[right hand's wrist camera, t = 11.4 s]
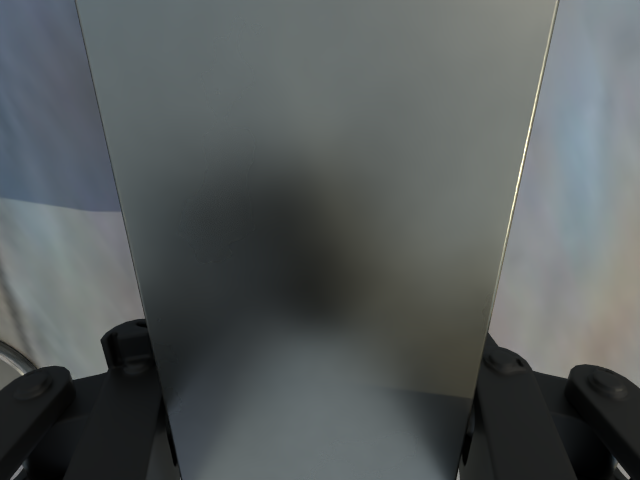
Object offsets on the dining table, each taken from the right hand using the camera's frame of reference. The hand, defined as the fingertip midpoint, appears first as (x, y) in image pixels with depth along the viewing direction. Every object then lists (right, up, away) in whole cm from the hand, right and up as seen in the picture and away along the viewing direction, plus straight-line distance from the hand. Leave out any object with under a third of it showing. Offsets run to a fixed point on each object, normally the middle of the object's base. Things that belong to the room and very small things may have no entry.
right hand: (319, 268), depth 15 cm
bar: (0, +13, -4) cm, 13 cm away
